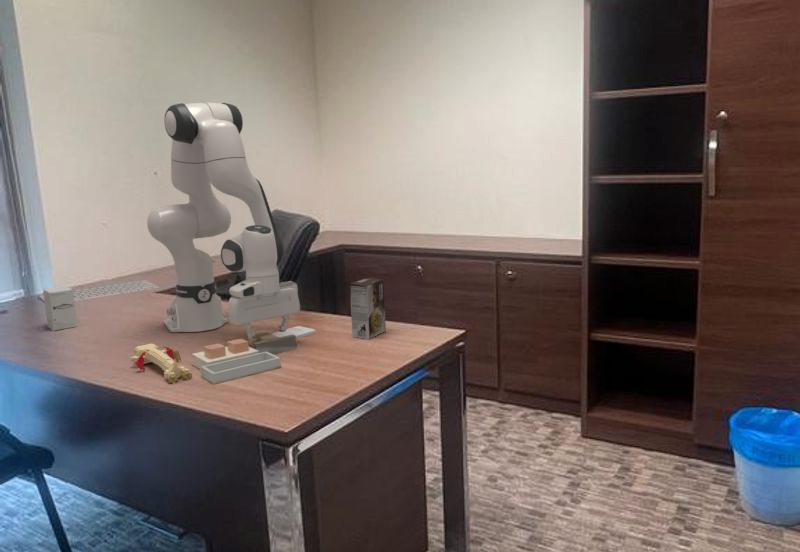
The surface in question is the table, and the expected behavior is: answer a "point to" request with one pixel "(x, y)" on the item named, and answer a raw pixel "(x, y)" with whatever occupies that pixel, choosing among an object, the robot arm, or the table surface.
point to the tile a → (214, 351)
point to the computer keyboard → (110, 290)
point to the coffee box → (367, 308)
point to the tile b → (238, 346)
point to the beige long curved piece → (161, 361)
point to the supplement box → (60, 308)
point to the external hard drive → (296, 332)
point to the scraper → (272, 342)
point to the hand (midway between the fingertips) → (267, 334)
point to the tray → (240, 367)
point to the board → (202, 360)
